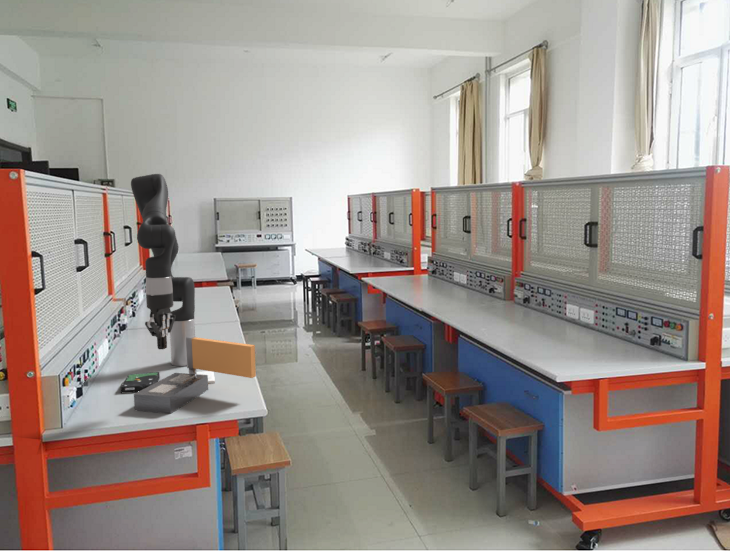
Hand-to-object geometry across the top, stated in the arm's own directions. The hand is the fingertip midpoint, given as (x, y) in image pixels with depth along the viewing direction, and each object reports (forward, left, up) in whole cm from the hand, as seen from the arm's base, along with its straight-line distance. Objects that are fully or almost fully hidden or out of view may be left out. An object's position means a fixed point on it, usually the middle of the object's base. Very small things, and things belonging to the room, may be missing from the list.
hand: (162, 348), depth 174 cm
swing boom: (-14, +11, -10) cm, 21 cm away
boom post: (-17, 0, -18) cm, 24 cm away
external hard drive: (-26, -2, -18) cm, 32 cm away
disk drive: (-15, -19, -18) cm, 30 cm away
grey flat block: (-5, 0, -18) cm, 18 cm away
